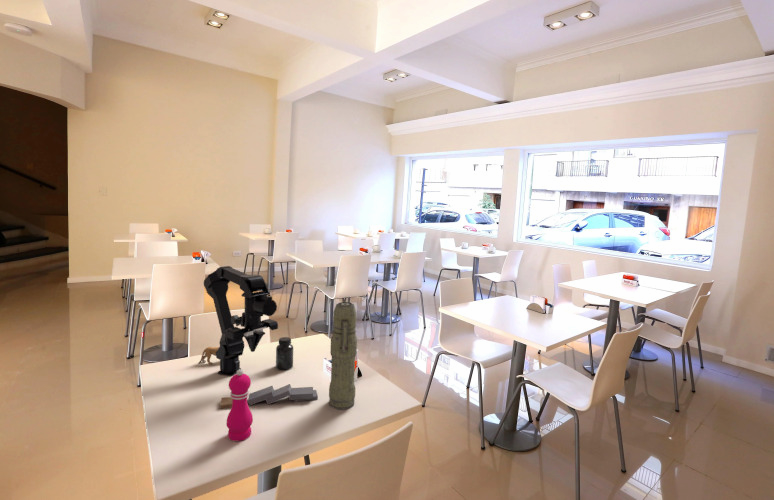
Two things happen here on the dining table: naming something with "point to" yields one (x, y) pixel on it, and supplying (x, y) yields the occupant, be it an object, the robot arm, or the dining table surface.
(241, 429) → the pepper mill
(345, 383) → the thermos
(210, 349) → the lion figurine
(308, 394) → the domino
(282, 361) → the supplement bottle
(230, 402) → the domino
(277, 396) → the domino
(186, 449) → the dining table surface
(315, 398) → the domino
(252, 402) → the domino
